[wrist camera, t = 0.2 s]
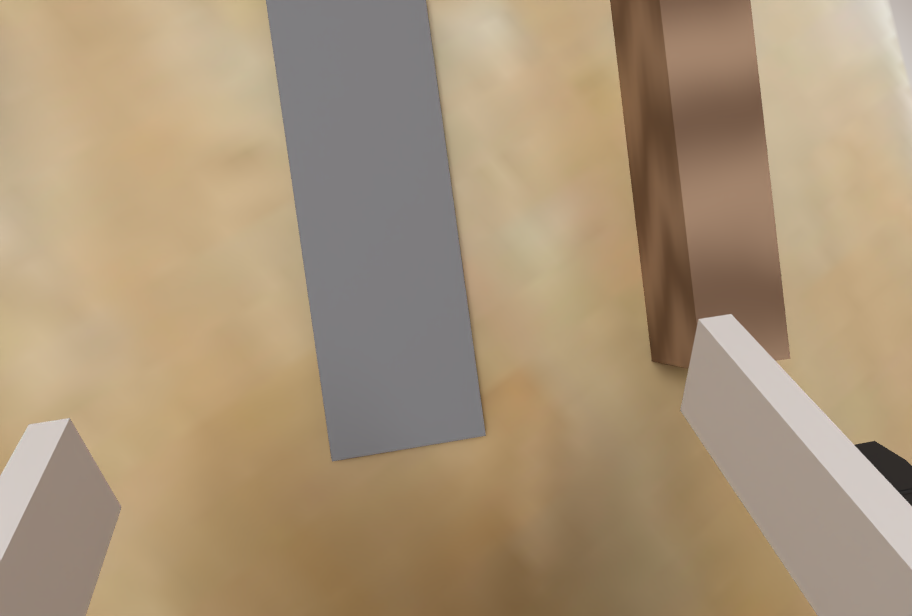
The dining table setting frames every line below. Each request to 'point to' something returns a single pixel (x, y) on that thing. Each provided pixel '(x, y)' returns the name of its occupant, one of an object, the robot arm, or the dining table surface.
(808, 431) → the robot arm
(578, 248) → the dining table surface
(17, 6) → the dining table surface
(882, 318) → the dining table surface
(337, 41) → the tool rest mat
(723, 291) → the walnut bar
